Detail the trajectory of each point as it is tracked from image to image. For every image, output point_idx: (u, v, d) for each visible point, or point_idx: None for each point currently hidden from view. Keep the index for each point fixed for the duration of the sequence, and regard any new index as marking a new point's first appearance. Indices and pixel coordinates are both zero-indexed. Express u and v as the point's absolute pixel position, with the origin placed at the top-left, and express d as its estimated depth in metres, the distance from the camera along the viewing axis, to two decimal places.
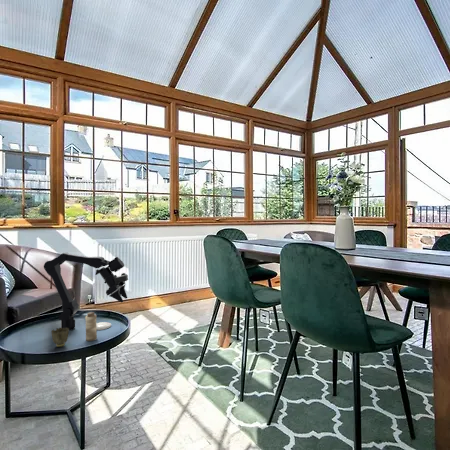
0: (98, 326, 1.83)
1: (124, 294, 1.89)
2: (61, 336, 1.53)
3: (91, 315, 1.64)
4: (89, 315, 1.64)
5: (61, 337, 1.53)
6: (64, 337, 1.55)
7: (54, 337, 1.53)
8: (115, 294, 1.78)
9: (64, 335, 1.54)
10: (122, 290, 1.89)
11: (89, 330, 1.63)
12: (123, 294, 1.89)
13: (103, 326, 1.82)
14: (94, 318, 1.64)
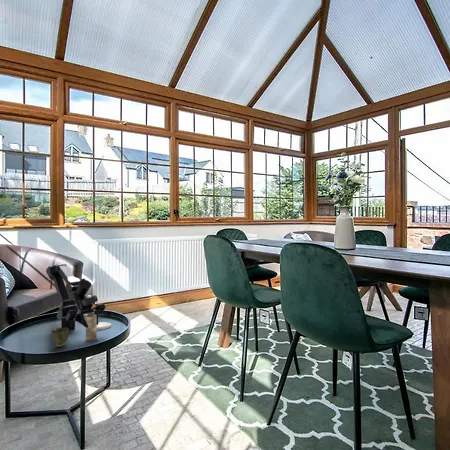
0: (98, 326, 1.83)
1: None
2: (61, 336, 1.53)
3: (91, 315, 1.64)
4: (89, 315, 1.64)
5: (61, 337, 1.53)
6: (64, 337, 1.55)
7: (54, 337, 1.53)
8: (80, 319, 1.64)
9: (64, 335, 1.54)
10: None
11: (89, 330, 1.63)
12: None
13: (103, 326, 1.82)
14: (94, 318, 1.64)
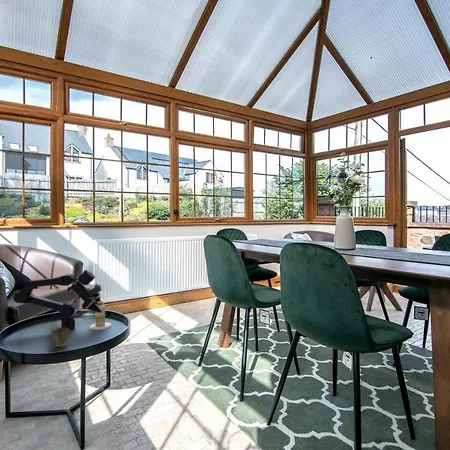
0: None
1: None
2: (61, 336, 1.53)
3: (102, 303, 1.85)
4: (101, 303, 1.84)
5: (61, 337, 1.53)
6: (64, 337, 1.55)
7: (54, 337, 1.53)
8: (92, 306, 1.79)
9: (64, 335, 1.54)
10: (98, 301, 1.89)
11: (102, 316, 1.83)
12: None
13: (103, 326, 1.82)
14: (104, 305, 1.86)
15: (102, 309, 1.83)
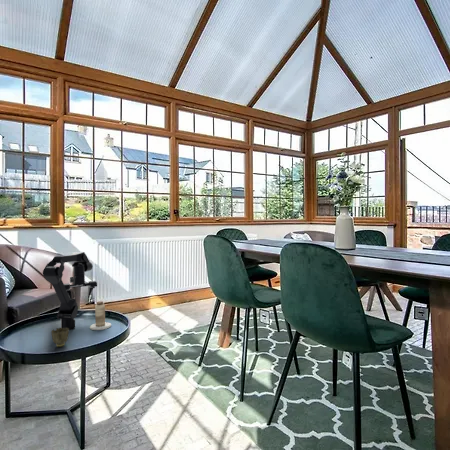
0: None
1: None
2: (61, 336, 1.53)
3: (102, 303, 1.85)
4: (101, 303, 1.84)
5: (61, 337, 1.53)
6: (64, 337, 1.55)
7: (54, 337, 1.53)
8: None
9: (64, 335, 1.54)
10: None
11: (102, 316, 1.83)
12: (71, 296, 1.92)
13: (103, 326, 1.82)
14: (104, 305, 1.86)
15: (102, 309, 1.83)
